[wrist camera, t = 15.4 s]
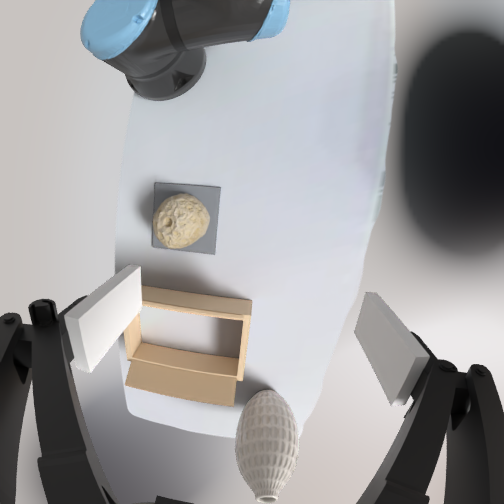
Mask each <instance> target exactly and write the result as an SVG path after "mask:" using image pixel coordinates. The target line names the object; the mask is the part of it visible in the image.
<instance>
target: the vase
mask: <svg viewBox="0 0 504 504" xmlns="http://www.w3.org/2000/svg"><path fill="white" fill-rule="evenodd" d="M235 452H236V460H237V464H238V467H239V470H240V473H241V475H242V476H243V478H244V480H245V481H246V482H247V484H248V485H249V487H250V488H251V489H252V491H253V492H254V494H255V498H256V500H257V501H258V502H261V503H272V502H275V501H277V500H278V497H279V493H280V491H281V490H282V489H283V487H284V486H285V485H286V483H287V482H288V480H289V479H290V477H291V476H292V474H293V472H294V469H295V467H296V463H297V459H298V452H299V439H298V430H297V425H296V421H295V418H294V415H293V412H292V410H291V409H290V407H289V405H288V404H287V402H286V401H285V400H284V398H282V397H281V396H280V395H279V394H278V393H277V392H275V391H272V390H262V391H259V392H258V393H256V394H255V395H254V396H253V397H252V398H251V399H250V400H249V401H248V403H247V404H246V406H245V407H244V409H243V411H242V413H241V416H240V419H239V422H238V426H237V432H236V441H235Z"/></svg>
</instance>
